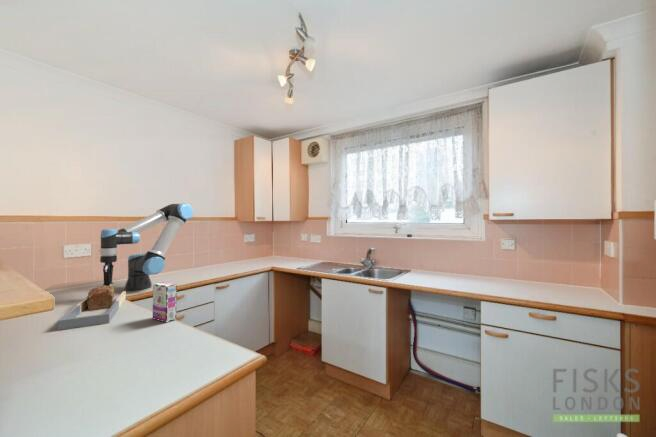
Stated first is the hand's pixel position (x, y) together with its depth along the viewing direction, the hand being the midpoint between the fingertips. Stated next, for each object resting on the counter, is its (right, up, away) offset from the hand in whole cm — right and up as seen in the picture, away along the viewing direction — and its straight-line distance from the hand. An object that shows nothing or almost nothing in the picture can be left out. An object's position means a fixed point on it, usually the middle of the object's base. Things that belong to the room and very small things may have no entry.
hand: (107, 295), depth 158 cm
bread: (+5, -2, -11) cm, 12 cm away
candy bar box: (+53, -2, -32) cm, 62 cm away
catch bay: (+12, -2, -21) cm, 24 cm away
